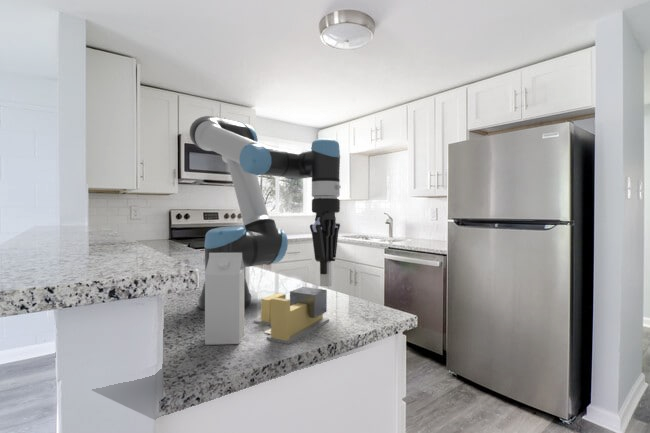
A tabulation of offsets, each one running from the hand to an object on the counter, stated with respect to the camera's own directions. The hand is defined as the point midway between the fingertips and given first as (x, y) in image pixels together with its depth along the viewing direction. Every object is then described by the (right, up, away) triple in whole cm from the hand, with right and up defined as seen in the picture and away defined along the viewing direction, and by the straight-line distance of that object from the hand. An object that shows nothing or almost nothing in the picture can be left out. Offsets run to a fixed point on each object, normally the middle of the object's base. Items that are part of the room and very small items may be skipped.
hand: (325, 285), depth 92 cm
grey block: (-4, -5, -7) cm, 10 cm away
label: (-12, -8, -11) cm, 18 cm away
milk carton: (-22, -9, -17) cm, 29 cm away
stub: (-13, -8, -3) cm, 16 cm away
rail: (-6, -8, -11) cm, 15 cm away
